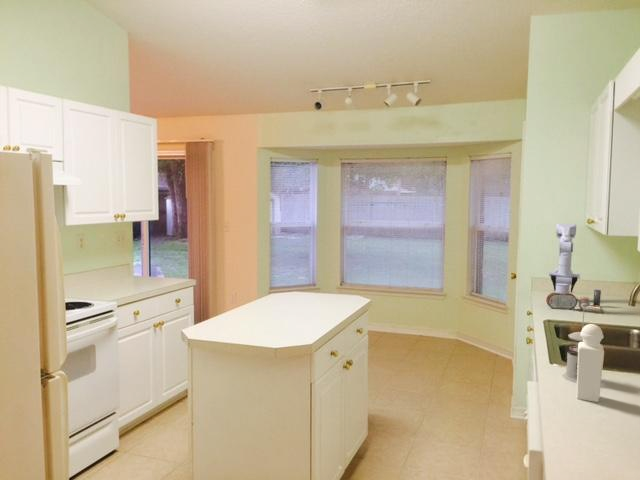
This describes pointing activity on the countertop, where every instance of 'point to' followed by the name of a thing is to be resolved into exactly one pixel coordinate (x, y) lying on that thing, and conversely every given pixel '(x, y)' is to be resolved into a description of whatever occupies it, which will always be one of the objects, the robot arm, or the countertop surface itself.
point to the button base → (584, 302)
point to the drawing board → (591, 309)
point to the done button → (584, 299)
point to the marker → (596, 298)
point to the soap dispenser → (590, 363)
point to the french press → (573, 359)
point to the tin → (561, 300)
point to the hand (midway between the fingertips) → (563, 291)
